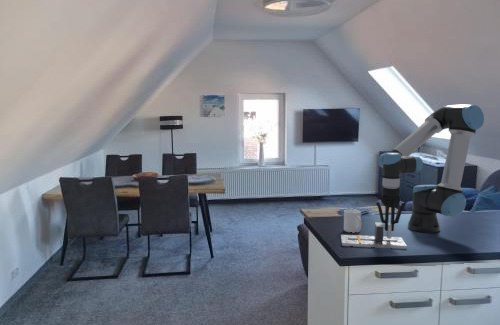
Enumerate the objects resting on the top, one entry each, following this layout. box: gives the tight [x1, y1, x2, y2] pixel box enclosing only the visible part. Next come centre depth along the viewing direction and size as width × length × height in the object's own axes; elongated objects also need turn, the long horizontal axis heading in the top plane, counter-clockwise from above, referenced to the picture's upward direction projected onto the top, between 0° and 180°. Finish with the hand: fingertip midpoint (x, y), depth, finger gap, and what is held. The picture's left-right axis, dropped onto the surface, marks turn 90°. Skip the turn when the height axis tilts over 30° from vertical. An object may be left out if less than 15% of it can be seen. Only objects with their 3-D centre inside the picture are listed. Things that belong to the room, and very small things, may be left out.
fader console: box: [340, 234, 408, 250], centre depth 193 cm, size 28×13×2 cm, turn 80°
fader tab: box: [374, 221, 385, 241], centre depth 192 cm, size 3×6×7 cm, turn 170°
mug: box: [343, 208, 363, 234], centre depth 211 cm, size 12×8×10 cm
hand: (388, 237), depth 191 cm, fingers closed
